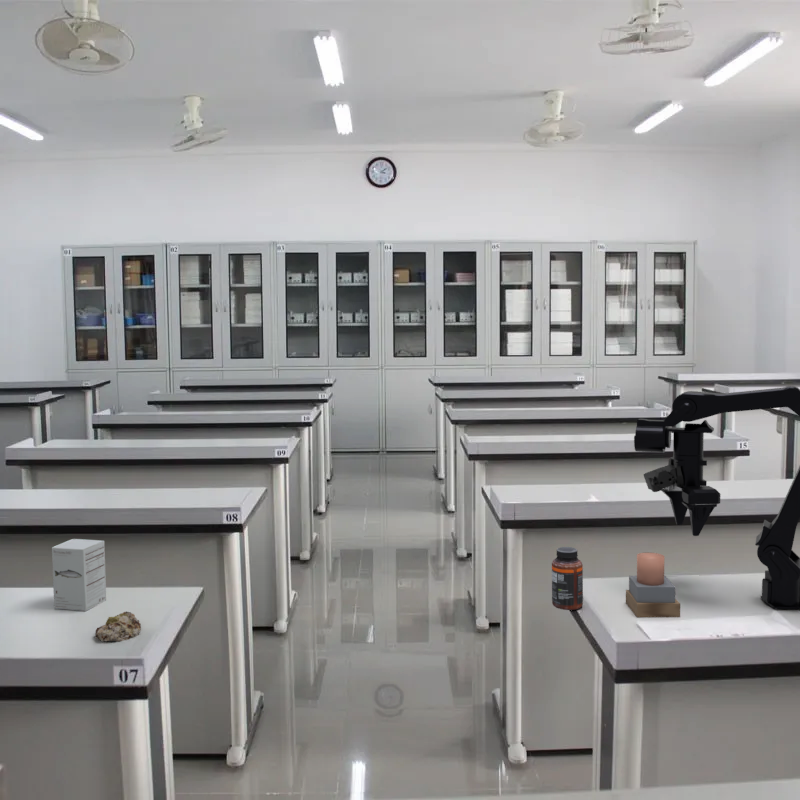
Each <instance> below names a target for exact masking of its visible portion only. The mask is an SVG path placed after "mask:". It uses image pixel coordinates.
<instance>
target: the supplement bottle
mask: <svg viewBox="0 0 800 800" xmlns="http://www.w3.org/2000/svg"><path fill="white" fill-rule="evenodd" d="M578 556H579V555H578V549H577V548H575V547H572V546H561V547H557V548H556V558H554V559H553V560H552V562H551V601H552V602H551V603H552V606H553V607H555V608H556V609H558V610H564V611H573V610H579V609H580V608H582V607H583V605H584V602H583V601H584V591H583V590H584V586H583V585H584V581H583V580H584V579H583V578H584V577H583V576H584V574H583V573H584V571H583V569H584V568H583V567H584V566H583V562H582V561H581V560H580V559H579V557H578Z"/></svg>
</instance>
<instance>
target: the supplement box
mask: <svg viewBox="0 0 800 800" xmlns="http://www.w3.org/2000/svg"><path fill="white" fill-rule="evenodd" d="M105 550H106V549H105V540H100V539H99V540H98V539H84V538H83V539H82V538H72V539H68V540H67V541H64V542H61V543H59V544H57V545H55V546H52V547H51V559H52V583H53V585H52V586H53V608H54V610H57V609H60V610H73V611H80V612H81V611H82V612H87V611H88V610H91V609H92V608H94V607H97V606H98V605H100V604H102V603H103V602H105V601H107V581H106V580H107V578H106V553H105Z"/></svg>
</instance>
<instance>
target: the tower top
mask: <svg viewBox="0 0 800 800" xmlns="http://www.w3.org/2000/svg"><path fill="white" fill-rule="evenodd" d="M628 590H629V591H630V593H631V594H632V596H633V597H634V599H635V600H636V602H637V603H675V599H676V586H675V585H674V584H673V583H672V581H671V580H670V579H669V578H668V577H667V575H664V584H662V585H657V586H651V585H644V584H641V583H638V582H637V575H629V576H628Z"/></svg>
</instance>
